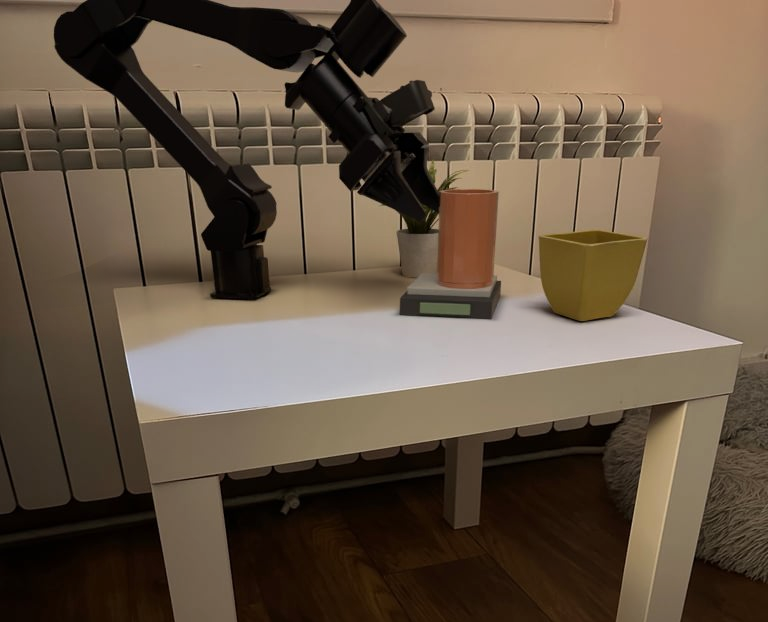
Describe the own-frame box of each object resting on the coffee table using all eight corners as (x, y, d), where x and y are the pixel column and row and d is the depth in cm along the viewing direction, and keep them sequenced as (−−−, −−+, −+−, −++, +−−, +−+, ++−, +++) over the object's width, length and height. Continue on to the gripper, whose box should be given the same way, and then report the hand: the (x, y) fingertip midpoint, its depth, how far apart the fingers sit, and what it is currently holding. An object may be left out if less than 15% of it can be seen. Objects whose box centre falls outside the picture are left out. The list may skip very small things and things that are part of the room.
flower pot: (578, 328, 81) (588, 243, 77) (530, 312, 88) (536, 234, 84) (637, 319, 85) (649, 237, 80) (586, 304, 92) (595, 228, 87)
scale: (399, 315, 87) (399, 291, 86) (418, 293, 99) (419, 271, 97) (490, 319, 85) (492, 295, 84) (500, 296, 97) (501, 274, 95)
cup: (455, 291, 86) (458, 194, 81) (427, 281, 92) (429, 190, 87) (503, 285, 89) (509, 192, 84) (473, 276, 94) (478, 188, 89)
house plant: (475, 284, 104) (482, 157, 96) (378, 285, 103) (377, 158, 96) (464, 267, 116) (469, 153, 108) (377, 268, 116) (376, 154, 108)
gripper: (364, 44, 73) (466, 167, 75) (414, 57, 89) (497, 159, 91) (297, 131, 79) (393, 243, 81) (354, 130, 95) (434, 224, 97)
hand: (433, 214), depth 87 cm, fingers open, 9 cm apart
